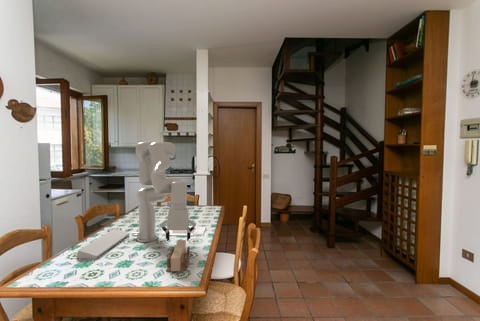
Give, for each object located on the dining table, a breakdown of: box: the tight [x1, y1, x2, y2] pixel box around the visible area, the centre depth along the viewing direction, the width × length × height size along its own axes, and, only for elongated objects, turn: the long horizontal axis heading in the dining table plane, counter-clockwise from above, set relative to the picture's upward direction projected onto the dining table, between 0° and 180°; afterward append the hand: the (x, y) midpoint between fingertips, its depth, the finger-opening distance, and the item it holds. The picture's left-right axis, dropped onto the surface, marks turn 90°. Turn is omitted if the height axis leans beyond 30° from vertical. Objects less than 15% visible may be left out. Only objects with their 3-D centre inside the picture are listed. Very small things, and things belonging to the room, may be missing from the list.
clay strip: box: [170, 239, 187, 272], centre depth 124 cm, size 4×22×6 cm, turn 5°
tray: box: [160, 225, 207, 237], centre depth 171 cm, size 20×28×4 cm
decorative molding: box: [75, 228, 130, 260], centre depth 144 cm, size 34×5×10 cm
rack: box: [165, 246, 191, 272], centre depth 124 cm, size 9×18×5 cm, turn 6°
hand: (178, 240), depth 124 cm, fingers open, 9 cm apart
